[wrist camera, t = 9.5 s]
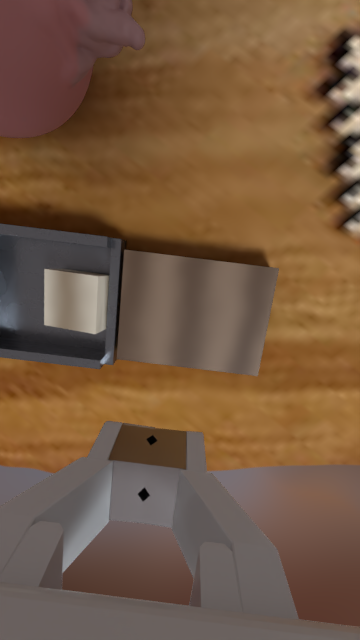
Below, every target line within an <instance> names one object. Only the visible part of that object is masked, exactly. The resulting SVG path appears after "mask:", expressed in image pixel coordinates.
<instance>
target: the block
mask: <svg viewBox="0 0 360 640" xmlns="http://www.w3.org/2000/svg"><path fill="white" fill-rule="evenodd" d="M108 292H109V275H106V274H99V273H91V272H84V271H77V270H70V269H44V325H47V326H52V327H58V328H63V329H69V330H74V331H80V332H86V333H91V334H97V333H99V332H101V331H103V330H105V329H106V326H107V309H108Z"/></svg>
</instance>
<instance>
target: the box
mask: <svg viewBox="0 0 360 640" xmlns="http://www.w3.org/2000/svg"><path fill="white" fill-rule="evenodd" d="M126 242H127V241H125V240H122V239H116V238H110V237H105V236H97V235H89V234H81V233H73V232H65V231H56V230H48V229H40V228H32V227H24V226H15V225H7V224H0V357H3V358H12V359H20V360H28V361H37V362H45V363H53V364H61V365H70V366H78V367H86V368H95V369H101V367H102V366H103V365H104V364H109V365H113V364H114V363H115V361H116V360H117V347H118V333H119V318H120V304H121V290H122V275H123V261H124V250H126ZM44 269H70V270H77V271H84V272H91V273H99V274H106V275H109V292H108V309H107V326H106V329H105V330H103V331H101V332H99V333H97V334H91V333H86V332H80V331H74V330H69V329H63V328H58V327H52V326H47V325H44Z"/></svg>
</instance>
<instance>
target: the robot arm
mask: <svg viewBox="0 0 360 640" xmlns="http://www.w3.org/2000/svg"><path fill="white" fill-rule="evenodd" d="M109 520H115V521H126V522H137V523H144V524H151V525H157V526H164V527H170V528H172V531H173V533H174V535H175V538H176V540H177V542H178V544H179V547H180V549H181V551H182V553H183V556H184V558H185V560H186V562H187V565H188V567H189V569H190V571H191V574H192V576H193V578H194V582H193V588H192V593H191V598H190V604H189V606H186V605H179V604H170V603H163V602H154V601H146V600H139V599H131V598H123V597H115V596H107V595H99V594H92V593H84V592H76V591H68V590H62V573H63V572H64V571H65V570H66V569H67V567H68V566H69V565H70V564H71V563H72V562H73V561H74V559H76V557H77V556H78V555H79V554H80V553H81V552H82V551H83V550H84V549H85V547H86V546H87V545H88V544H89V543H90V542H91V541H92V540H93V539H94V538H95V537H96V535H97V534H98V533H99V532H100V531H101V530H102V529H103V528H104V527H105V525H106V524H107V523H108V522H109ZM0 640H360V627H354V626H346V625H339V624H331V623H322V622H315V621H307V620H299V618H298V615H297V612H296V609H295V605H294V602H293V599H292V596H291V592H290V589H289V586H288V583H287V580H286V577H285V573H284V570H283V567H282V564H281V560H280V557H279V554H278V551H277V548H276V547H275V546H274V545H273V544H272V543H271V541H270V540H269V539H268V538H267V537H266V536H265V535H264V533H263V532H262V531H261V530H260V529H259V528H258V526H257V525H256V524H255V523H254V522H253V521H252V519H251V518H250V517H249V516H248V515H247V513H246V512H245V511H244V510H243V509H242V508H241V506H240V505H239V504H238V503H237V502H236V501H235V499H234V498H233V497H232V496H231V495H230V494H229V493H228V491H227V490H226V489H225V488H224V487H223V486H222V484H221V483H220V482H219V481H218V480H217V478H216V477H215V476H214V475H213V474H212V473H207V467H206V457H205V446H204V435H203V433H202V432H192V431H178V430H169V429H160V428H155V427H148V426H141V425H135V424H128V423H121V422H113V421H107V422H105V423H104V425H103V427H102V429H101V431H100V433H99V435H98V437H97V439H96V441H95V443H94V445H93V447H92V449H91V451H90V453H89V455H88V456H87V458H86V457H81V458H79V459H78V460H76V461H74V462H73V463H71V464H69V465H68V466H66V467H64V468H63V469H61V470H59V471H58V472H56V473H55V474H53V475H51V476H50V477H48V478H46V479H45V480H43V481H41V482H40V483H38V484H36V485H35V486H33V487H31V488H30V489H28V490H26V491H25V492H23V493H21V494H20V495H18V496H16V497H15V498H13V499H11V500H10V501H8V502H6V503H5V504H3V505H1V506H0Z"/></svg>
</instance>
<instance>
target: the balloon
mask: <svg viewBox="0 0 360 640" xmlns="http://www.w3.org/2000/svg"><path fill="white" fill-rule="evenodd" d="M132 8H133V6H132V0H0V136H3V137H10V138H29V137H35V136H40V135H43V134H46V133H49V132H51V131H53V130H55V129H57V128H58V127H60V126H61V125H62V124H64V123H65V122H66V121H67V120H68V119H69V118H70V117H71V116H72V115H73V114H74V113H75V111H76V110H77V109H78V107H79V106H80V104H81V102H82V100H83V98H84V96H85V94H86V92H87V89H88V86H89V83H90V79H91V75H92V71H93V64H94V63H95V61H96V59H97V58H101V57H106V58H110V57H114V56H116V55H118V54H119V53H120V51H121V50H122V47H123V46H125V47H128V46H131V47H132V48H134V49H135V50H139V49H141V48H142V47H143V46H144V43H145V34H144V31H143V29H142V28H141V27H140V26H139V24H138V23H137V22H136V21H135V20H134V19H133V18H132V17H131V13H132Z"/></svg>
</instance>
